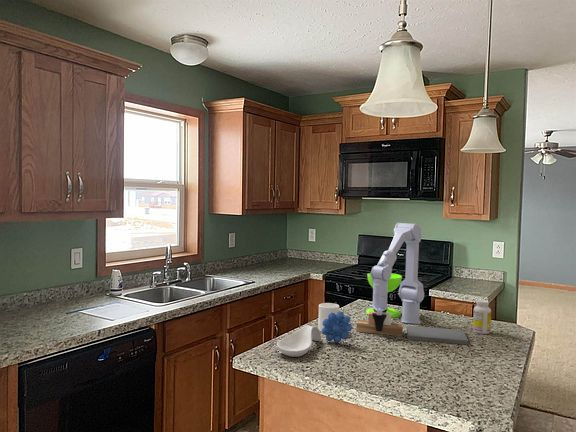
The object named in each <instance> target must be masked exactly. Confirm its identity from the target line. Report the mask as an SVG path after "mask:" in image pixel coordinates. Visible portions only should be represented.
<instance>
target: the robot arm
mask: <svg viewBox="0 0 576 432" xmlns="http://www.w3.org/2000/svg"><path fill="white" fill-rule="evenodd" d="M421 241H422V227H421V226H420V225H419V224H418V223H405V222H397V223H396V224H395V226H394V228H393V238H392V241H391V243H390V245H389V247H388V250H384V251H383V253H382V255H381V257H380V259H379V261H378V263H377V265H374V266H372V267H371V271H370V273H371V277H372V283H373V287H372V304H369V308H373V310H374V312H377V313H372V316H373V318H374V321H375V326H376V331H382V328H383V323H384V320H385V318H386V316H387V315H385V314H382V312H385V313H386V311H387V308H389V306H388V293H389V292H388V280H389V279H390V277H391V273H392V271H393V266H394V264H395V263H396V261H397V259H398V258H397V254H398V251H400V249H401V247H402V245H403V244H404V243H405V245H406V251H405V254H406V255H405V279H403V280H401V283H400V285H399V289H398V296H399V298H400V299H401V302H402V307H401V308H402V309H401V310H402V312H401V313H402V315H400V323H402V324H414V325H415V324H416V325H420V324H421V319H420V304H421V303H422V301H423V300H424V298H425V291H424V284H423V283H422V282H421V281H420V280H419V279H418V278H419V277H418V276H419V275H418V273H419V272H418V271H419V249H420V242H421Z"/></svg>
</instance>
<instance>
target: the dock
mask: <svg viewBox="0 0 576 432" xmlns="http://www.w3.org/2000/svg"><path fill="white" fill-rule="evenodd" d="M406 335H407V336H406V337H407V340H410V341H419V342H420V341H422V342H434V343H444V344H457V345H467V346H468V345H469V339H468V338H467V337H468V336H466V333H465V332H464V330H463V329H452V328H442V327H441V328H440V327H438V328H437V327H429V326H428V327H427V326H415V325H414V326H413V325H406Z"/></svg>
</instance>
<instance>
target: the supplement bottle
mask: <svg viewBox="0 0 576 432" xmlns="http://www.w3.org/2000/svg"><path fill="white" fill-rule="evenodd" d="M475 302H476V303H475V304H476V305H475V306H474V308H473V317H472V318H473V319H472V320H473V322H472V325H473V326H472V330H473V332H475V333H476V334H479V335H480V334H482V335H488V334H491V332H492V331H491V327H492V326H491V325H492V309H491V308H490V307H489V305H490V304H489V303H490V302H489V301H488V300H486V299H477V300H476V301H475Z"/></svg>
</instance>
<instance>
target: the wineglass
mask: <svg viewBox="0 0 576 432" xmlns="http://www.w3.org/2000/svg"><path fill="white" fill-rule="evenodd" d="M402 279H403V276H402V275H401V274H397V273H392V272H391V277H390V279H389V280H388V293H390V292H393V291H395V290H396V289H397V288H398V287H400V283H401V282H402ZM367 281H368V284H369V285H370V286H371V288H373V283H372V277H371V272H370V273H367ZM369 311H371V312H374V310H373V308H371V307H369V308H368V309H367V310H366V311H365V312H366V313H365V314H367V315H369ZM386 313H391V319H392V318H394V319H395V318H398V317H401V316H402V315H401V311H399V310H398V309H394V308H392V307H391V308H390V307H388V308H387V311H386Z"/></svg>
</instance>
